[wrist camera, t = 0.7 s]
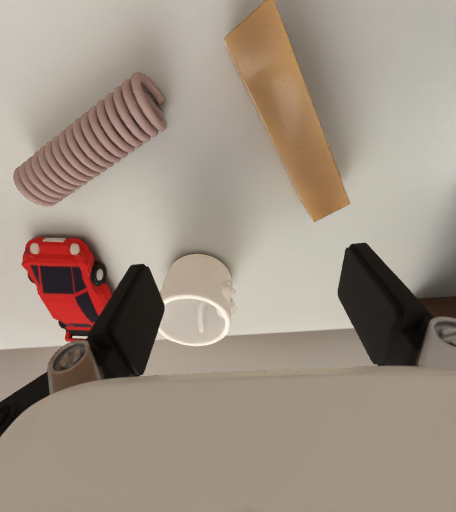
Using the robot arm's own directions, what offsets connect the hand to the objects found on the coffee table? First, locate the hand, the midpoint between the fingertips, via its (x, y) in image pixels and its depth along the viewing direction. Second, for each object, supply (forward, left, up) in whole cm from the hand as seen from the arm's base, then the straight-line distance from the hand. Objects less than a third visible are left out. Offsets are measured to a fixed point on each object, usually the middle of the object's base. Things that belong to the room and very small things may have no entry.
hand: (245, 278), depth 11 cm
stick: (-7, -1, -19) cm, 20 cm away
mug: (+13, +11, -19) cm, 26 cm away
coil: (+11, -11, -19) cm, 25 cm away
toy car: (+31, +2, -19) cm, 36 cm away
